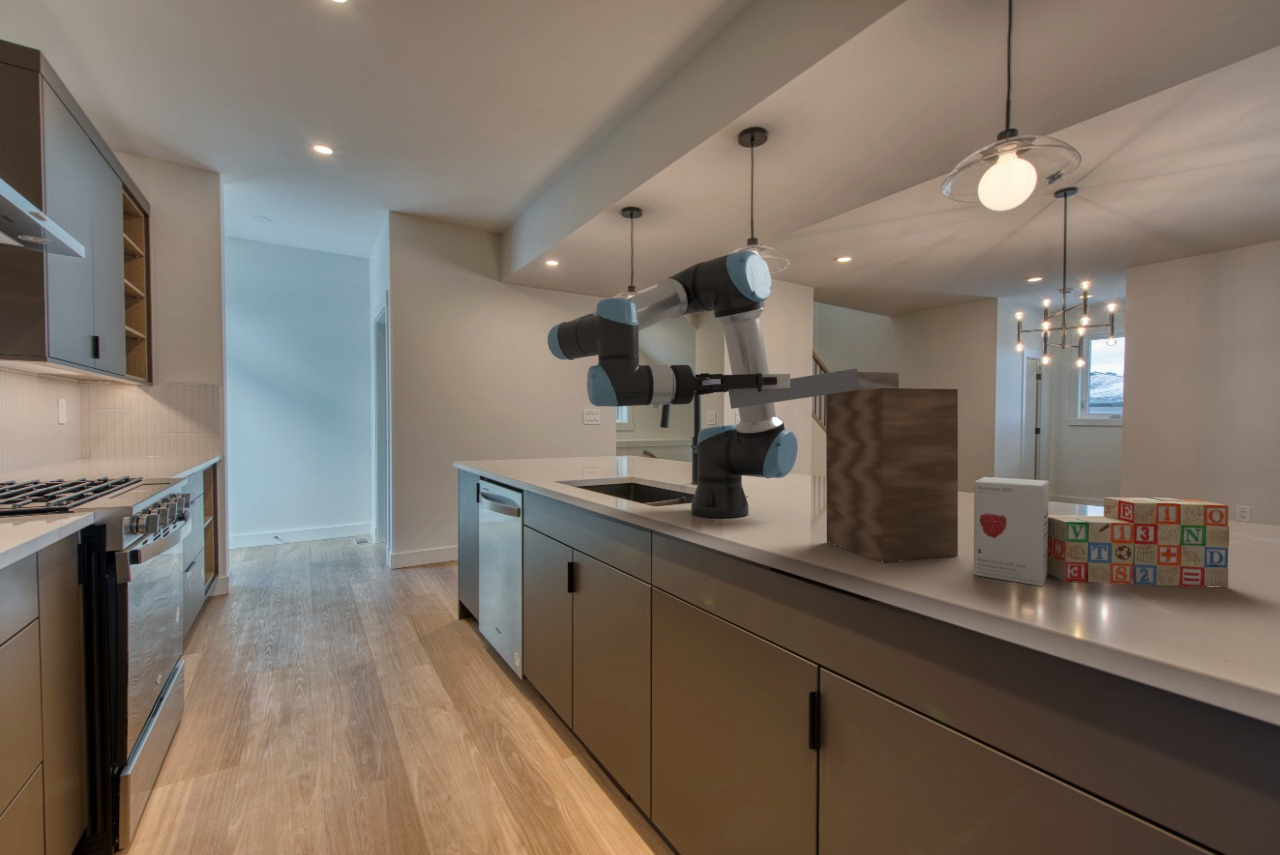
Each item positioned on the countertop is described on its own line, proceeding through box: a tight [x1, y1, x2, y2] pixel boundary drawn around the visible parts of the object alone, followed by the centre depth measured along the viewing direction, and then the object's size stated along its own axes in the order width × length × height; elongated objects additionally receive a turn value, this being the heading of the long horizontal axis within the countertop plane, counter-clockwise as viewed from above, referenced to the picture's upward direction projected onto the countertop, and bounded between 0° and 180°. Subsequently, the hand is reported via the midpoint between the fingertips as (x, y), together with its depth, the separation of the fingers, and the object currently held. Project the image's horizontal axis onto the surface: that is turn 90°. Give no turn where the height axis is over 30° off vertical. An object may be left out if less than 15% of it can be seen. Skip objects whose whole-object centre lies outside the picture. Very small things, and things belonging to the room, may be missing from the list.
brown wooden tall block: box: [825, 371, 959, 563], centre depth 101 cm, size 16×16×34 cm
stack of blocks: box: [1047, 496, 1230, 588], centre depth 81 cm, size 21×6×12 cm, turn 81°
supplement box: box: [973, 476, 1050, 587], centre depth 83 cm, size 9×9×15 cm
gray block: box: [728, 368, 860, 410], centre depth 104 cm, size 4×24×4 cm, turn 74°
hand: (776, 382), depth 106 cm, fingers closed on gray block, 9 cm apart
